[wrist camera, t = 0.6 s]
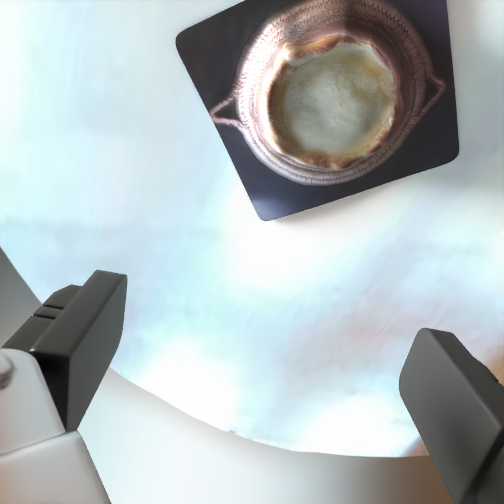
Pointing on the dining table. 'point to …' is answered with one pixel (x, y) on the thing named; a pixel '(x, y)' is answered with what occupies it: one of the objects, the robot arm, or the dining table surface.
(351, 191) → the quiche
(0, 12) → the dining table surface
